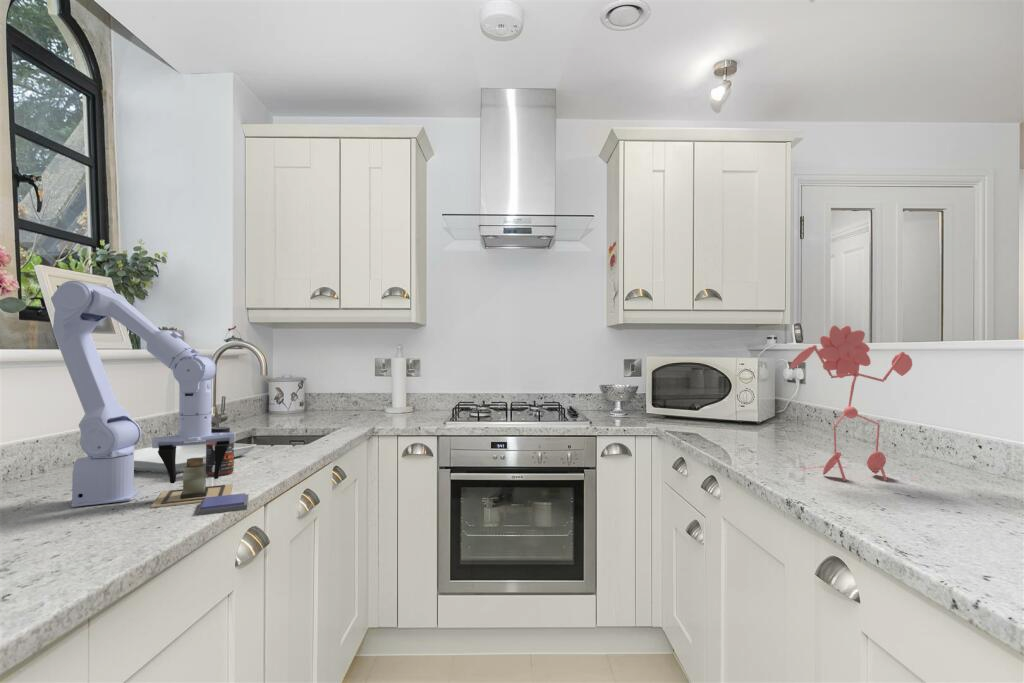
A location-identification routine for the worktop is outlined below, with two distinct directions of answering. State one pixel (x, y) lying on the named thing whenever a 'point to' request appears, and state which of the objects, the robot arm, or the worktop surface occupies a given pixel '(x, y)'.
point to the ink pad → (223, 503)
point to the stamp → (194, 479)
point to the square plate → (178, 456)
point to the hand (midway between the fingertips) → (195, 480)
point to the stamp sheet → (174, 498)
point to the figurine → (845, 357)
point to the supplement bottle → (228, 458)
